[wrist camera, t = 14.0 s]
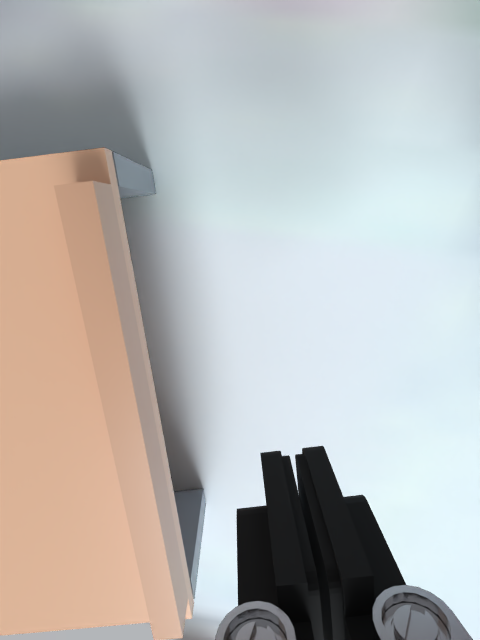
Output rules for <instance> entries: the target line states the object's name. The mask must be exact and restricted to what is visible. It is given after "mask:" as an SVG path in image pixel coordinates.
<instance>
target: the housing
mask: <svg viewBox="0 0 480 640" xmlns="http://www.w3.org/2000/svg"><path fill="white" fill-rule="evenodd" d="M112 156H113V162H114V167H115V173H116V178H117V184H118V189H119V195H120V198H127V197H135V196H144V195H152V194H156V192H155V186H154V180H153V173H152V170H151V169H149V168H147V167H145V166H143V165H141V164H138V163H136V162H134V161H132V160H130V159H128V158H126V157H124V156H122V155H119V154H117V153H115V152H112ZM174 496H175V502H176V507H177V513H178V518H179V524H180V529H181V534H182V540H183V545H184V551H185V556H186V562H187V567H188V573H189V578H190V584H191V589H192V595H193V599H194V598H195V590H196V582H197V573H198V565H199V557H200V549H201V540H202V532H203V524H204V516H205V507H206V503H205V497H204V491H203V489H197V490H187V491H177V492H174Z"/></svg>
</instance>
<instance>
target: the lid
mask: <svg viewBox="0 0 480 640" xmlns="http://www.w3.org/2000/svg"><path fill="white" fill-rule="evenodd" d="M193 606H194V600H193V595H192V589H191V584H190V578H189V573H188V567H187V562H186V556H185V551H184V545H183V540H182V534H181V529H180V524H179V518H178V513H177V507H176V502H175V496H174V491H173V485H172V480H171V474H170V469H169V463H168V458H167V452H166V447H165V441H164V436H163V430H162V425H161V419H160V414H159V408H158V403H157V397H156V392H155V386H154V381H153V376H152V370H151V365H150V359H149V354H148V348H147V343H146V337H145V332H144V326H143V321H142V315H141V310H140V304H139V299H138V293H137V288H136V282H135V277H134V271H133V266H132V260H131V255H130V249H129V244H128V238H127V233H126V228H125V222H124V217H123V211H122V206H121V200H120V195H119V189H118V184H117V178H116V173H115V167H114V162H113V156H112V151H111V150H109V149H107V148H105V147H103V148H95V149H87V150H79V151H71V152H63V153H55V154H47V155H39V156H31V157H24V158H16V159H8V160H0V635H11V634H24V633H35V632H46V631H58V630H69V629H80V628H91V627H102V626H115V625H126V624H137V623H149V622H150V625H151V629H152V634H153V638H154V640H164V639H177V638H183V632H184V625H185V619H192V615H193Z"/></svg>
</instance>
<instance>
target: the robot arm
mask: <svg viewBox="0 0 480 640" xmlns="http://www.w3.org/2000/svg"><path fill="white" fill-rule="evenodd" d="M295 459H296V470H297V481H298V490H297V486H296V482H295V478H294V473H293V469H292V465H291V460H290V456H282V455H281V451H273V452H265V453H261V462H262V470H263V479H264V488H265V496H266V505H267V506H259V507H250V508H241V509H237V565H238V606H237V607H235V608H234V609H233V610H232V611H230V612H229V613H228V614H227V615H226V616H225V618H224V619H223V620H222V622H221V623H220V625H219V628H218V631H217V634H216V636H215V640H473V639H472V638H471V636H470V635H469V634H468V632H467V631H466V629H465V628H464V627H463V625H462V624H461V623H460V621H459V620H458V618H457V617H456V616H455V614H454V613H453V611H452V610H451V609H450V608H449V607H448V606H447V605H446V604H445V603H444V602H443V601H442V600H441V599H440V598H438V597H437V596H435V595H434V594H432V593H431V592H429V591H426V590H424V589H421V588H419V587H414V586H408V585H406V583H405V581H404V579H403V577H402V575H401V573H400V571H399V568H398V566H397V564H396V562H395V560H394V558H393V555H392V553H391V551H390V549H389V547H388V545H387V543H386V540H385V538H384V536H383V534H382V532H381V530H380V528H379V525H378V523H377V521H376V519H375V517H374V515H373V512H372V510H371V508H370V506H369V504H368V502H367V500H366V498H365V496H363V495H357V496H348V497H343V495H342V492H341V490H340V487H339V485H338V482H337V480H336V477H335V474H334V472H333V469H332V467H331V464H330V462H329V459H328V456H327V454H326V451H325V449H324V447H323V446H318V447H309V448H303V449H302V454H297V455H295ZM298 492H299V495H298Z"/></svg>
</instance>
